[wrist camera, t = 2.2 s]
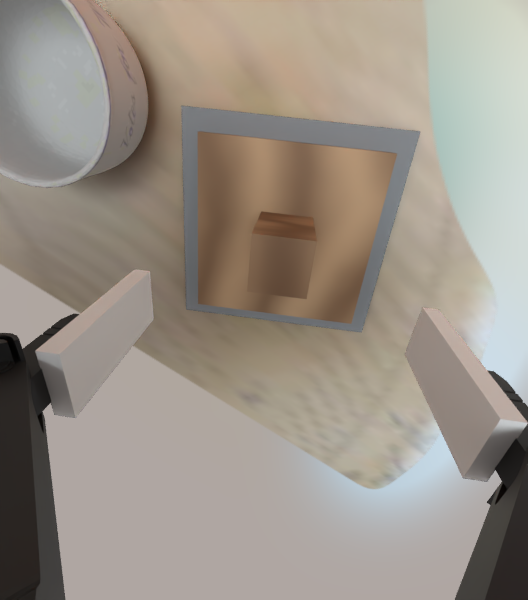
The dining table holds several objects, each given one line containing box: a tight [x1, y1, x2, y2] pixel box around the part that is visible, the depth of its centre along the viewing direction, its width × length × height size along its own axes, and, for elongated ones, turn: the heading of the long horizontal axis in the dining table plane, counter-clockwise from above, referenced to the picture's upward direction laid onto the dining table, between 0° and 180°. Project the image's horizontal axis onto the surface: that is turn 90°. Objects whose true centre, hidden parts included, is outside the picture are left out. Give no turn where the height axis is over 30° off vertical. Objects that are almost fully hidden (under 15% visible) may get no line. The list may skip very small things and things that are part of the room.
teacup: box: [0, 0, 148, 188], centre depth 19 cm, size 14×11×8 cm
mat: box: [181, 106, 420, 332], centre depth 27 cm, size 17×17×1 cm
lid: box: [198, 131, 397, 324], centre depth 23 cm, size 14×14×7 cm
